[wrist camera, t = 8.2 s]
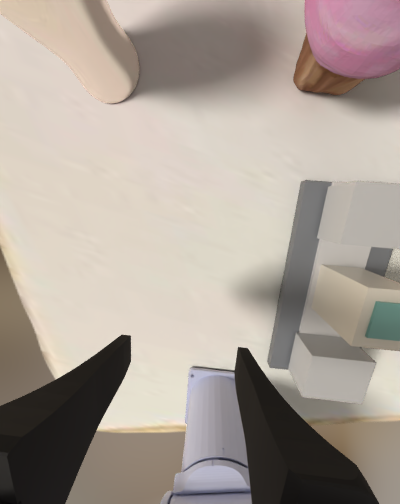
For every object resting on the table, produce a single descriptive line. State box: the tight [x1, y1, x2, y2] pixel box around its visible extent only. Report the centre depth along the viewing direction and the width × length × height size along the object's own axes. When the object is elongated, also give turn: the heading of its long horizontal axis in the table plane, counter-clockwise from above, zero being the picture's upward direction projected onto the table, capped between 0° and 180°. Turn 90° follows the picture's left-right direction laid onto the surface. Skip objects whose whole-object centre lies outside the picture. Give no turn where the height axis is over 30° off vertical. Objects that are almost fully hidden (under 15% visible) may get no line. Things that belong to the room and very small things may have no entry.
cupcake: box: [294, 0, 400, 95], centre depth 12 cm, size 9×9×10 cm
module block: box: [311, 264, 400, 351], centre depth 17 cm, size 5×4×6 cm
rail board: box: [267, 180, 400, 404], centre depth 19 cm, size 22×10×5 cm, turn 176°
